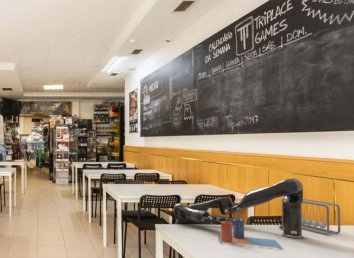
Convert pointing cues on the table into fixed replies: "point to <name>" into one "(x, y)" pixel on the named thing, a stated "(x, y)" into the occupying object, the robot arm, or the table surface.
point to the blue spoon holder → (238, 227)
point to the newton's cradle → (316, 223)
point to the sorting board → (255, 242)
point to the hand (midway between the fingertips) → (223, 222)
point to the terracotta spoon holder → (226, 230)
